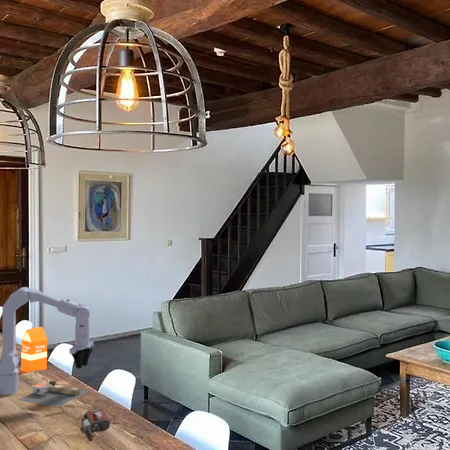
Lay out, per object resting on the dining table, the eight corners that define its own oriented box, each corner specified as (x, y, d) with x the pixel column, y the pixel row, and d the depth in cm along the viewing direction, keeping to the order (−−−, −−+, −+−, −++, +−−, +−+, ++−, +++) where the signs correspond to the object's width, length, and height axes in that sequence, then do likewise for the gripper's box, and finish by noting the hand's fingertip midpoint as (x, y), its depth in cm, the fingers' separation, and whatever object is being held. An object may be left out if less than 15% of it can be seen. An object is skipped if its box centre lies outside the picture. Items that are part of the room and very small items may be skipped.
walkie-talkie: (78, 419, 183) (89, 441, 165) (78, 407, 183) (89, 428, 165) (102, 415, 187) (115, 437, 169) (102, 404, 187) (115, 423, 169)
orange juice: (20, 370, 239) (21, 328, 239) (37, 366, 246) (37, 325, 246) (30, 373, 235) (31, 330, 235) (47, 369, 242) (47, 327, 242)
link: (47, 390, 208) (47, 382, 208) (52, 388, 211) (52, 380, 211) (75, 395, 203) (75, 386, 203) (79, 393, 206) (80, 384, 206)
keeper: (36, 391, 207) (37, 383, 207) (52, 393, 206) (52, 384, 206) (31, 395, 203) (31, 386, 203) (46, 396, 202) (47, 387, 202)
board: (18, 402, 198) (18, 399, 198) (53, 387, 217) (53, 384, 216) (57, 409, 191) (57, 407, 191) (89, 393, 210) (89, 391, 210)
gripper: (80, 339, 203) (79, 372, 203) (99, 332, 217) (99, 363, 217) (65, 337, 206) (64, 370, 206) (85, 330, 219) (85, 361, 219)
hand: (81, 366), depth 212 cm, fingers open, 3 cm apart
